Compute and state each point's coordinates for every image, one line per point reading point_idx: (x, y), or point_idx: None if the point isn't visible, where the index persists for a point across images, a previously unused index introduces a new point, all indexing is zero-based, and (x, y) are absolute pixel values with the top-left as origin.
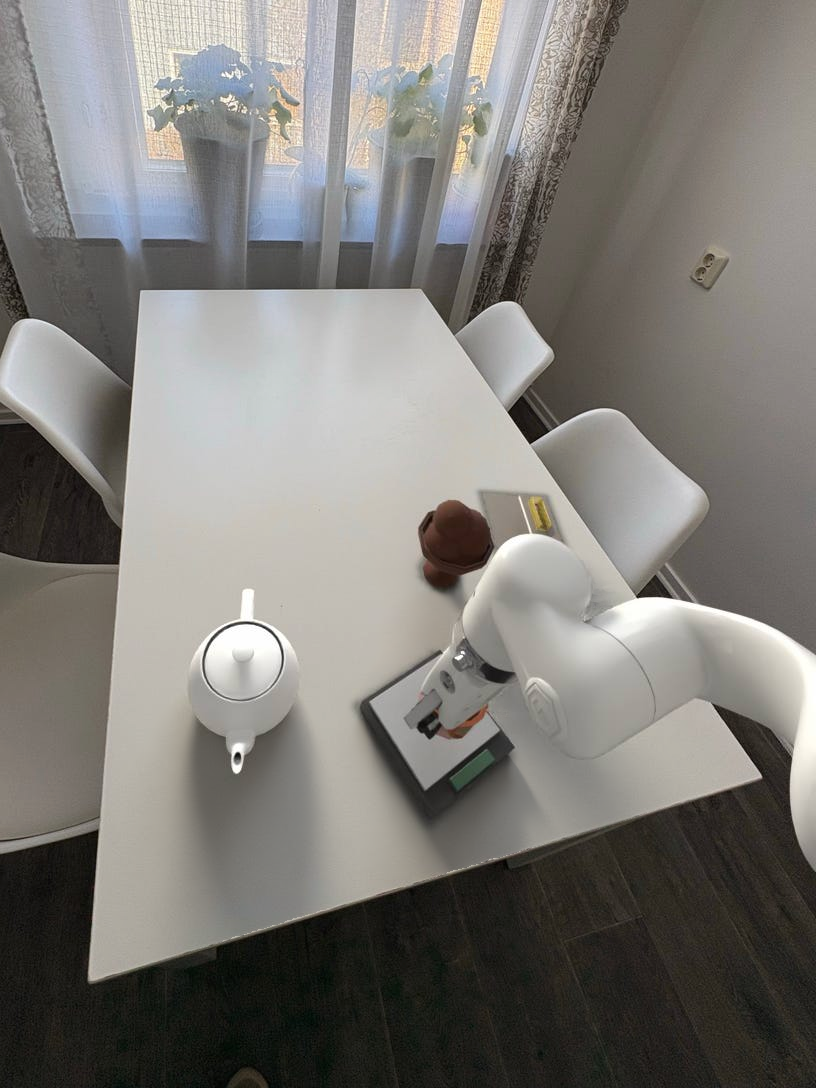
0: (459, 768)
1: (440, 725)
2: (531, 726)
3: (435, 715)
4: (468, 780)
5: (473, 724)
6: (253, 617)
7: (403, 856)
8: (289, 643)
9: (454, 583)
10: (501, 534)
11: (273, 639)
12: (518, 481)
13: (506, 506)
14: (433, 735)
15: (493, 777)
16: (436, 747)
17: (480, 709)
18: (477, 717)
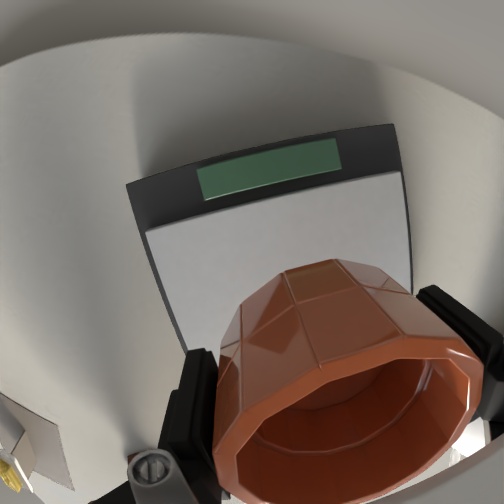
0: (295, 182)
1: (492, 348)
2: (72, 217)
3: (501, 389)
4: (297, 147)
5: (401, 340)
6: (453, 451)
7: (430, 105)
8: (462, 440)
9: (135, 453)
10: (56, 460)
11: None
12: (33, 477)
13: (47, 472)
14: (452, 301)
15: (200, 145)
16: (335, 244)
17: (455, 489)
18: (357, 370)
